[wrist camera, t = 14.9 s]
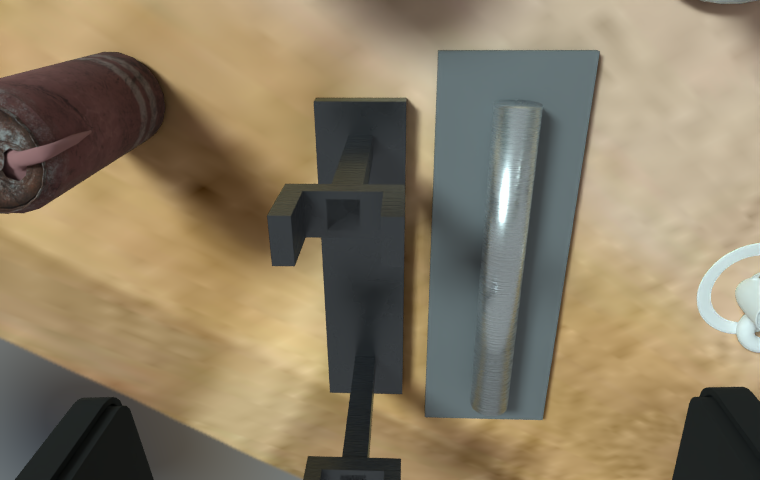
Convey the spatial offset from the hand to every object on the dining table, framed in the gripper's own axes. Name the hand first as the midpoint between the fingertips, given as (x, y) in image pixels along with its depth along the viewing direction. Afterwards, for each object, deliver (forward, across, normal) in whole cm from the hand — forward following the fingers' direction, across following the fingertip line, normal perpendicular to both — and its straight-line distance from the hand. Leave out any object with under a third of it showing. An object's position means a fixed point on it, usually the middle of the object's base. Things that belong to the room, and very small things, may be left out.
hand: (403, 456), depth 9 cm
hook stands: (+30, +4, +12) cm, 33 cm away
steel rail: (+28, -6, +12) cm, 32 cm away
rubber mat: (+31, -6, +12) cm, 34 cm away
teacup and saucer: (+31, -23, +18) cm, 43 cm away
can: (+31, +19, -1) cm, 36 cm away
